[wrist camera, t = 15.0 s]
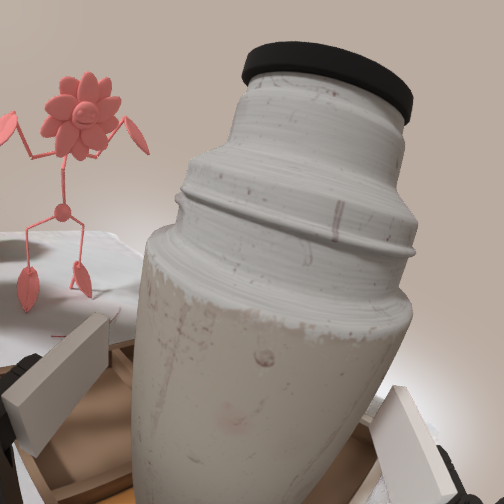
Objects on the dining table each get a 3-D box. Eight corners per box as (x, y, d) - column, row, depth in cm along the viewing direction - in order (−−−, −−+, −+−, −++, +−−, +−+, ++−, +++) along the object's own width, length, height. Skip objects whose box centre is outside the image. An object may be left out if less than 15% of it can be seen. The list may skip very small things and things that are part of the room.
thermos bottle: (244, 511, 19) (393, 131, 12) (246, 590, 11) (531, 113, 4) (147, 494, 18) (211, 78, 11) (129, 573, 11) (169, -30, 4)
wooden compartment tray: (-4, 393, 22) (-12, 363, 21) (201, 339, 46) (206, 315, 45) (196, 660, 4) (205, 666, 3) (385, 455, 29) (403, 431, 28)
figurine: (-19, 299, 35) (3, 64, 26) (105, 280, 56) (141, 94, 47) (1, 358, 27) (25, 41, 18) (152, 320, 49) (202, 95, 40)
